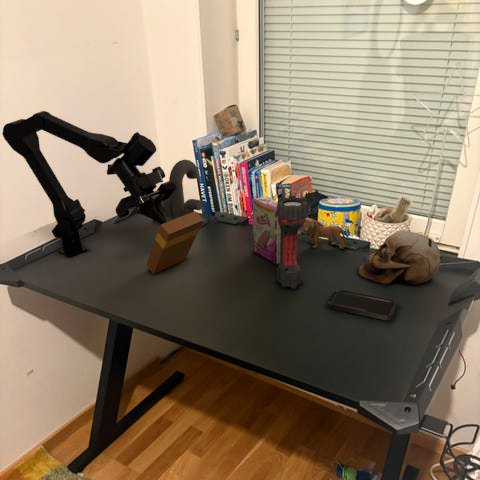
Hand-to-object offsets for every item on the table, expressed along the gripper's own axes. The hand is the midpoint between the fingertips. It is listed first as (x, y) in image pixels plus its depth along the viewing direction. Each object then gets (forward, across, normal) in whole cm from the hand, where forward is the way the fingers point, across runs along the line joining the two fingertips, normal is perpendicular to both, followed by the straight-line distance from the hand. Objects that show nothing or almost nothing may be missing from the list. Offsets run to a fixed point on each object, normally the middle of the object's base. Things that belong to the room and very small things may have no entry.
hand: (165, 224), depth 132 cm
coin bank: (+48, +29, -30) cm, 64 cm away
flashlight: (+34, +10, -15) cm, 38 cm away
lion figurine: (+30, +35, -12) cm, 48 cm away
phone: (+48, +10, -29) cm, 57 cm away
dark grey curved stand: (-6, +30, +24) cm, 39 cm away
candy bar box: (+24, +21, -5) cm, 32 cm away
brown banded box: (+7, 0, +9) cm, 12 cm away
